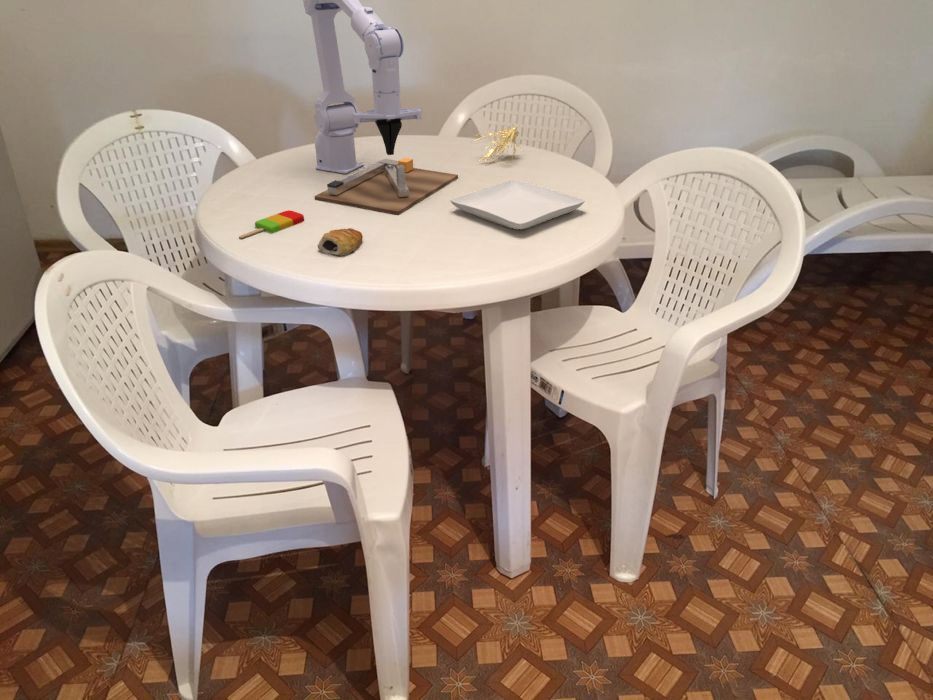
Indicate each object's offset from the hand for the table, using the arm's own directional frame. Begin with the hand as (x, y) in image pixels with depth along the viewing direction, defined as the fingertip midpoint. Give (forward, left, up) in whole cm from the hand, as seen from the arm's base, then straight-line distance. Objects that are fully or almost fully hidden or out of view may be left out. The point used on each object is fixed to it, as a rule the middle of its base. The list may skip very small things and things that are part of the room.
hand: (389, 153), depth 161 cm
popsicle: (-11, -29, -10) cm, 33 cm away
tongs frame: (-9, +3, -8) cm, 12 cm away
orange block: (-4, +14, -8) cm, 17 cm away
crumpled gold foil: (+11, +35, -10) cm, 38 cm away
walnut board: (-3, +3, -9) cm, 10 cm away
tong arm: (-1, +3, -8) cm, 9 cm away
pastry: (+8, -31, -10) cm, 33 cm away
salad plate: (+30, +2, -10) cm, 32 cm away
